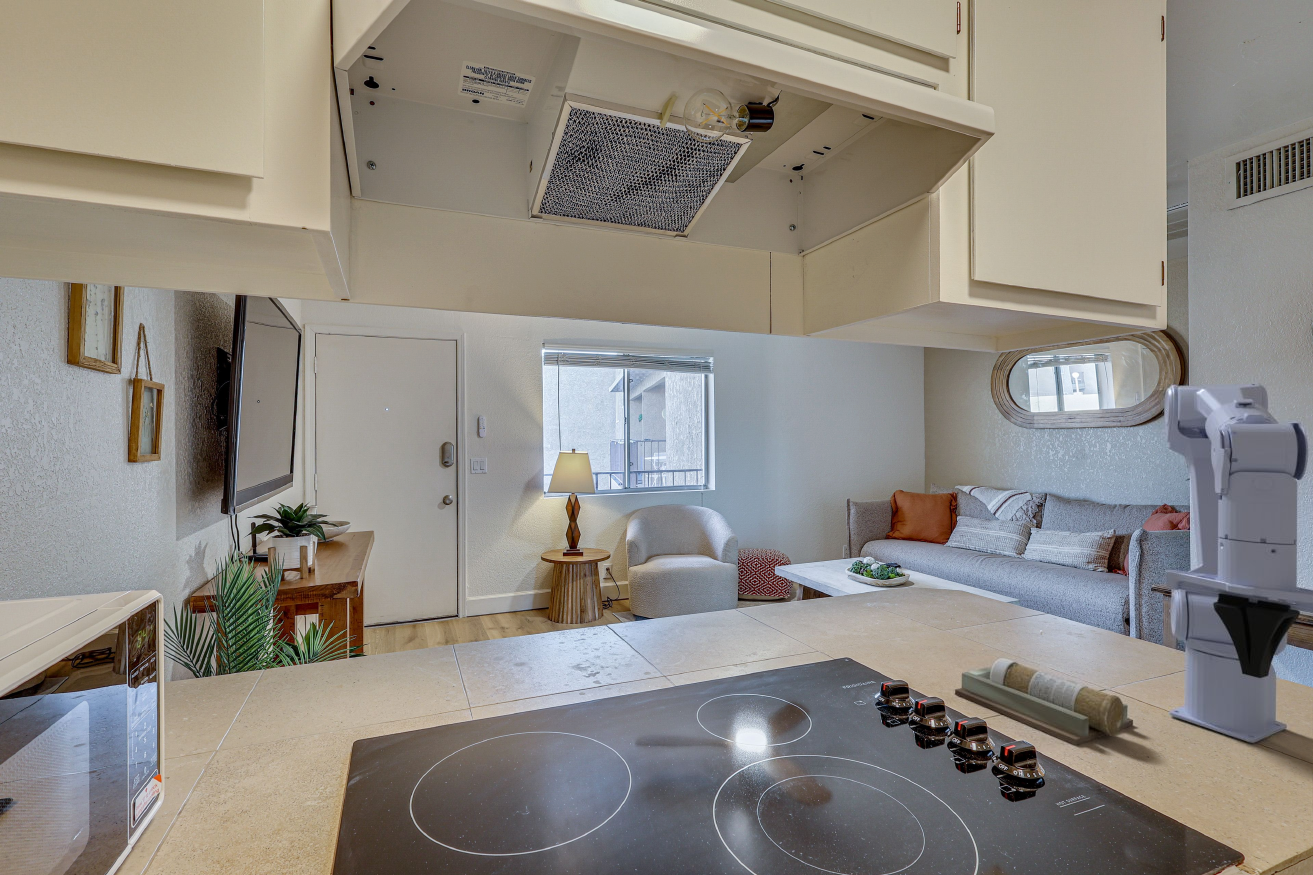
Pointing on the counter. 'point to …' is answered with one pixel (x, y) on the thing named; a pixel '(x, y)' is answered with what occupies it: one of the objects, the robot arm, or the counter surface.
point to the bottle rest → (1029, 708)
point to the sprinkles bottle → (1062, 694)
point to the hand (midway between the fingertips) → (1255, 674)
